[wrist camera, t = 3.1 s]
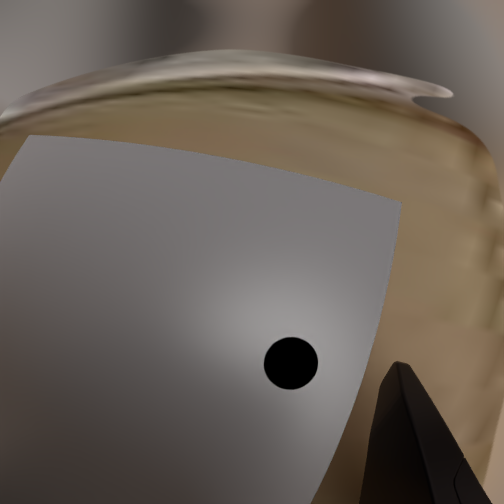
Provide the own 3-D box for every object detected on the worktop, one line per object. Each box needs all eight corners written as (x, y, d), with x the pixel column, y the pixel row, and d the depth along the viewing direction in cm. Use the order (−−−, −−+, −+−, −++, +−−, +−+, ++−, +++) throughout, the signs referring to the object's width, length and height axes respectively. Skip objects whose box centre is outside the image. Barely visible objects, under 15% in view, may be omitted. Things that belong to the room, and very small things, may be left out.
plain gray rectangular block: (278, 426, 13) (213, 640, 1) (191, 393, 14) (-66, 420, 2) (309, 339, 14) (401, 202, 2) (222, 311, 15) (29, 134, 3)
